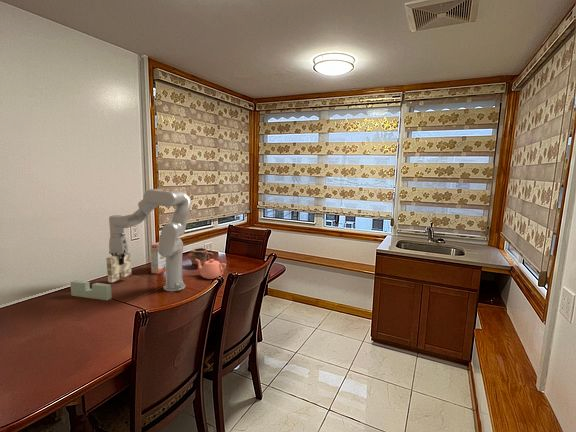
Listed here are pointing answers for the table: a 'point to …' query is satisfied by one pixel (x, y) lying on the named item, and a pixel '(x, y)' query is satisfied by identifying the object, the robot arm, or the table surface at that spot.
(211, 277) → the teapot
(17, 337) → the table surface
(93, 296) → the slotted base
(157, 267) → the cracker box
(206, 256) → the decorative planter
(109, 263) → the maple plate
